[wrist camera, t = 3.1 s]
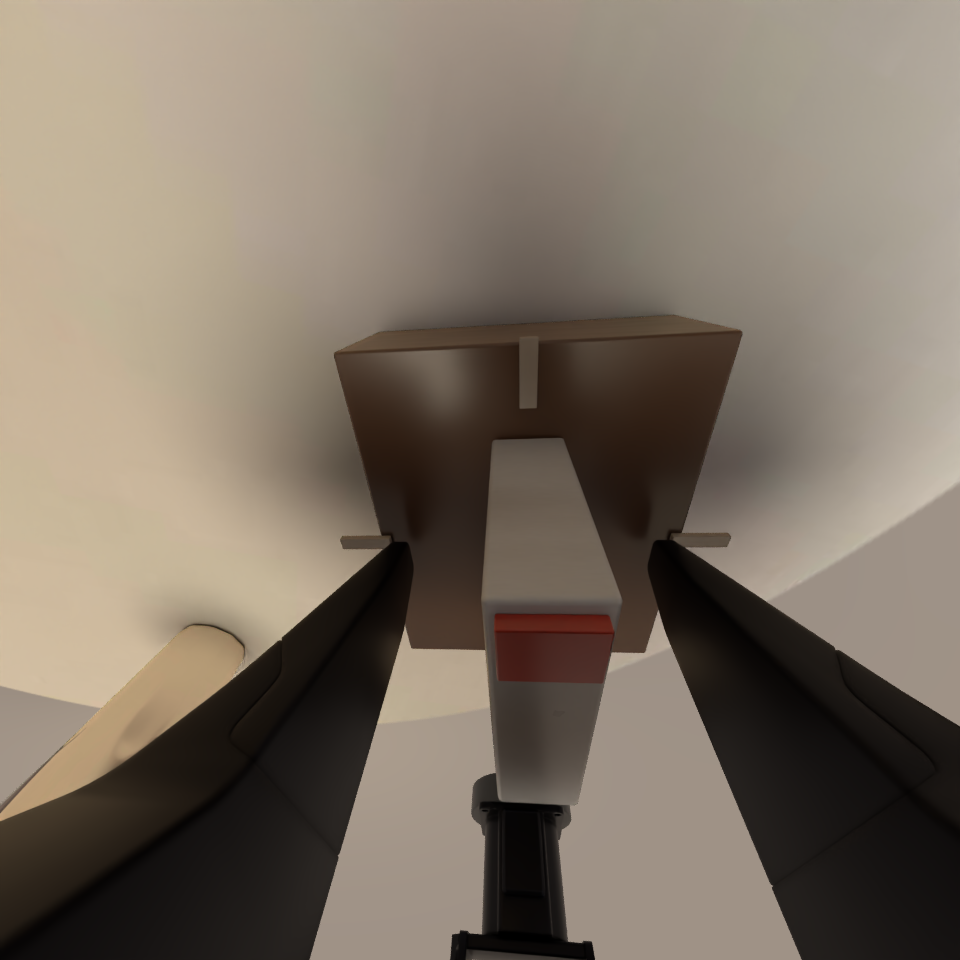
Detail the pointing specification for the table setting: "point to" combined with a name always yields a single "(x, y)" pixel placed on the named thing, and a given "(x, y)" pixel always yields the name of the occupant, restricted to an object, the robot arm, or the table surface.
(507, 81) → the table surface
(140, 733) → the milkshake
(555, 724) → the tap handle
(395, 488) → the block
